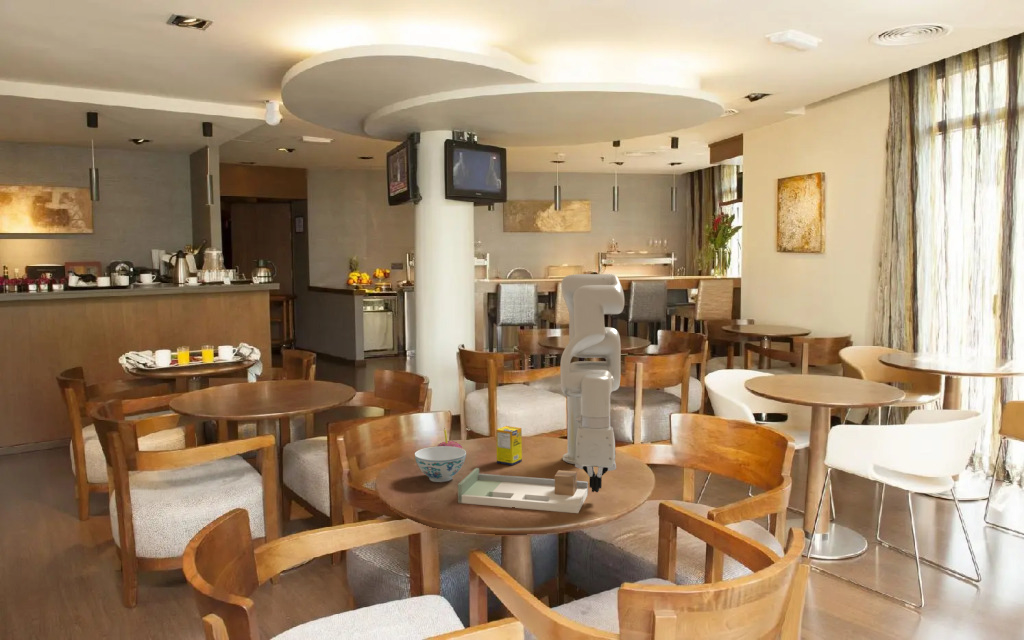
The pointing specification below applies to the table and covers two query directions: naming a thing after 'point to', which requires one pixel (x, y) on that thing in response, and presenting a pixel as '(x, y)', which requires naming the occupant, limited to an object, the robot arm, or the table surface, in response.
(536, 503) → the trap board
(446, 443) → the cupcake
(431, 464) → the chinaware
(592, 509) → the table surface
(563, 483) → the walnut block
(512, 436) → the supplement box
